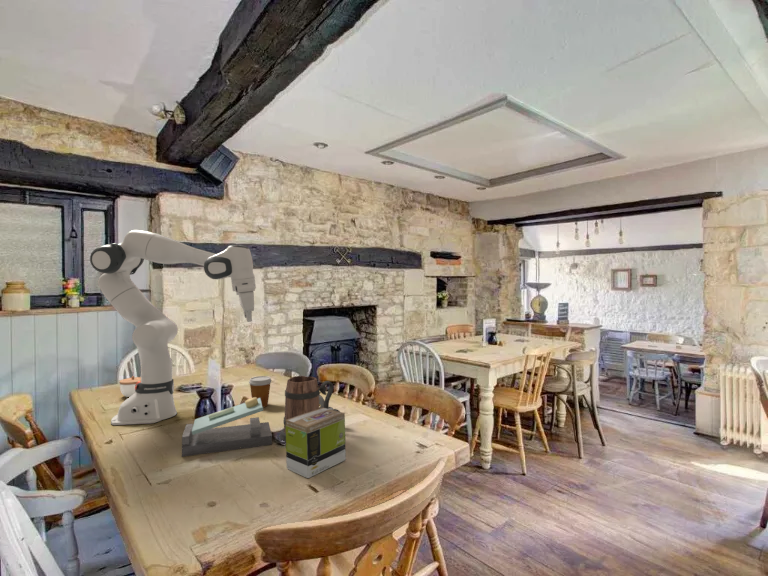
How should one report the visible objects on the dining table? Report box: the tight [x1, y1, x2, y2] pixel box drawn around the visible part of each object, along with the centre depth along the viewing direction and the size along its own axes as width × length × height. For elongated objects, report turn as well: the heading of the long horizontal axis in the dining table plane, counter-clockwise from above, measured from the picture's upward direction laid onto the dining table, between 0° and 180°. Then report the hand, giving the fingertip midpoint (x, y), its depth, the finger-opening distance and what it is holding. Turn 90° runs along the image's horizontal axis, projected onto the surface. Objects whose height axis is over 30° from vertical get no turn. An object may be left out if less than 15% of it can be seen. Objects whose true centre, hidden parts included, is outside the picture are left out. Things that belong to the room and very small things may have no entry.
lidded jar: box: [119, 375, 141, 398], centre depth 191 cm, size 11×11×9 cm
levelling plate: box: [192, 397, 264, 435], centre depth 135 cm, size 22×12×3 cm, turn 110°
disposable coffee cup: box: [248, 375, 272, 408], centre depth 176 cm, size 10×10×12 cm
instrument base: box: [181, 417, 273, 457], centre depth 135 cm, size 27×14×6 cm, turn 110°
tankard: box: [278, 375, 341, 442], centre depth 144 cm, size 24×17×20 cm
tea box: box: [285, 407, 347, 479], centre depth 119 cm, size 15×10×15 cm, turn 141°
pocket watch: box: [319, 391, 334, 410], centre depth 168 cm, size 8×8×10 cm
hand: (248, 319), depth 161 cm, fingers open, 8 cm apart
